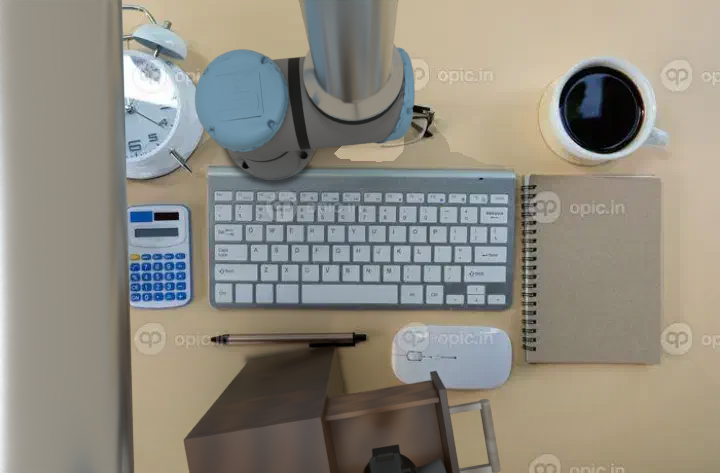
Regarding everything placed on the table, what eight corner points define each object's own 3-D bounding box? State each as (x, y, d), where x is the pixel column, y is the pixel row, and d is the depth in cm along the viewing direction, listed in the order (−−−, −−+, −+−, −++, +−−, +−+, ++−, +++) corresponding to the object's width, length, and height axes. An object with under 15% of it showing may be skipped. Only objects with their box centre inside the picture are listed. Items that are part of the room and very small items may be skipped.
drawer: (474, 363, 57) (489, 381, 51) (492, 470, 58) (509, 501, 51) (319, 389, 57) (314, 410, 51) (338, 496, 58) (335, 531, 51)
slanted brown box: (335, 344, 79) (321, 416, 49) (348, 423, 79) (342, 541, 49) (249, 359, 79) (183, 439, 49) (263, 437, 79) (205, 564, 49)
